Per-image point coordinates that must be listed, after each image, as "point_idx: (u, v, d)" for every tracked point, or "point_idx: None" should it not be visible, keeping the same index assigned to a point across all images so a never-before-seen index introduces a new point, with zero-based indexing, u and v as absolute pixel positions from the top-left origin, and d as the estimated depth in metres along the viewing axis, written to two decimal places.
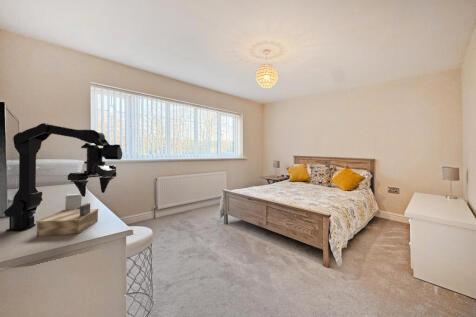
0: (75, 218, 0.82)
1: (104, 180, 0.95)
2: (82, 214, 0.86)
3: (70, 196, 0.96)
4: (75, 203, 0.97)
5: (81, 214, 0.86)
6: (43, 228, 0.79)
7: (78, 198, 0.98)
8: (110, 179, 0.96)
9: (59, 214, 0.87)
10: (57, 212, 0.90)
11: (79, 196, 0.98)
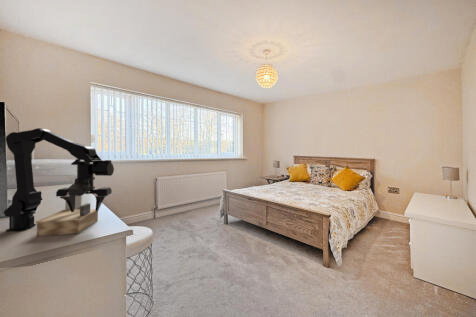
0: (75, 218, 0.82)
1: None
2: (82, 214, 0.86)
3: None
4: (75, 203, 0.97)
5: (81, 214, 0.86)
6: (43, 228, 0.79)
7: (78, 198, 0.98)
8: (98, 198, 0.87)
9: (59, 214, 0.87)
10: (57, 212, 0.90)
11: (79, 196, 0.98)
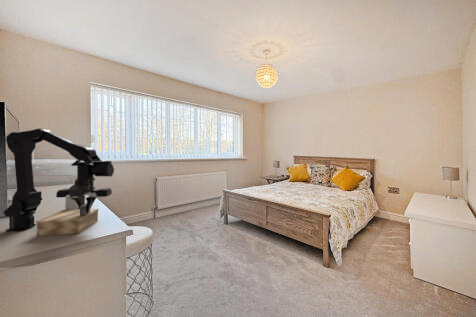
0: (75, 218, 0.82)
1: None
2: (82, 214, 0.86)
3: None
4: (75, 203, 0.97)
5: (81, 214, 0.86)
6: (43, 228, 0.79)
7: None
8: (89, 199, 0.87)
9: (59, 214, 0.87)
10: (57, 212, 0.90)
11: None
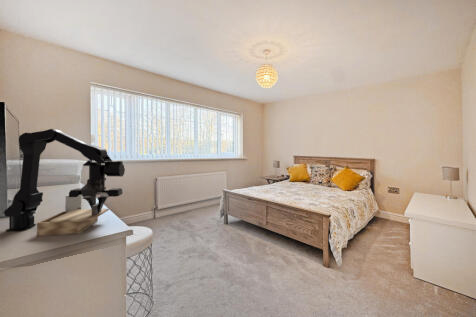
0: (87, 218, 0.83)
1: None
2: (94, 214, 0.87)
3: None
4: (75, 203, 0.97)
5: (93, 214, 0.87)
6: (43, 228, 0.79)
7: (78, 198, 0.98)
8: (100, 199, 0.88)
9: (71, 214, 0.88)
10: (69, 212, 0.91)
11: (79, 196, 0.98)
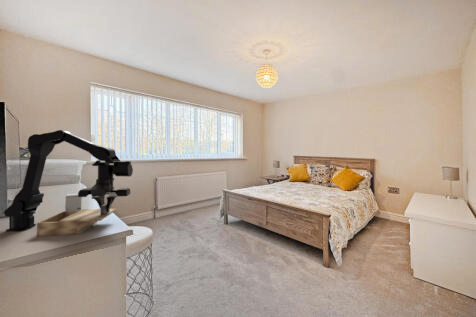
0: (97, 217, 0.84)
1: None
2: (103, 213, 0.88)
3: (70, 196, 0.96)
4: (75, 203, 0.97)
5: (102, 213, 0.88)
6: (43, 228, 0.79)
7: (78, 198, 0.98)
8: (109, 198, 0.88)
9: (80, 213, 0.89)
10: None
11: None
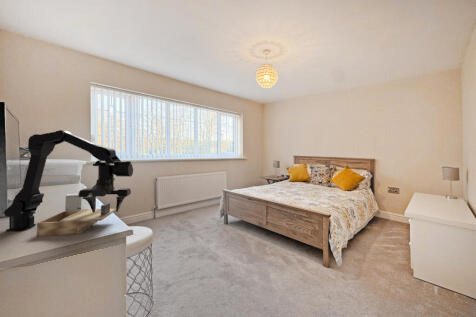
0: (97, 217, 0.84)
1: None
2: (103, 213, 0.88)
3: (70, 196, 0.96)
4: (75, 203, 0.97)
5: (102, 213, 0.88)
6: (43, 228, 0.79)
7: (78, 198, 0.98)
8: (119, 198, 0.89)
9: (80, 213, 0.89)
10: None
11: None
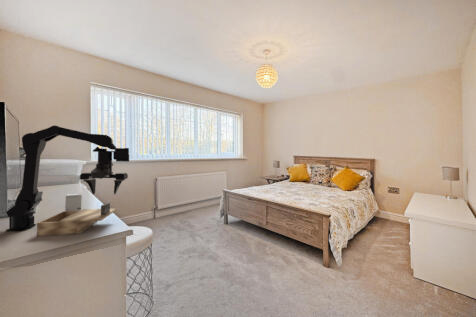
0: (97, 217, 0.84)
1: None
2: (103, 213, 0.88)
3: (70, 196, 0.96)
4: (75, 203, 0.97)
5: (102, 213, 0.88)
6: (43, 228, 0.79)
7: (78, 198, 0.98)
8: (116, 181, 0.97)
9: (80, 213, 0.89)
10: None
11: (79, 196, 0.98)
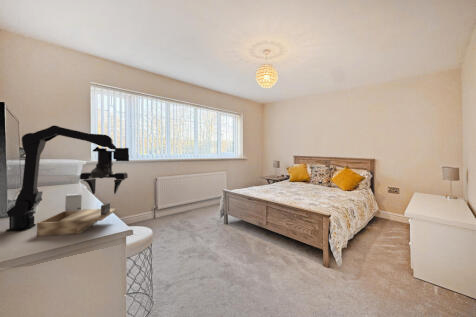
0: (97, 217, 0.84)
1: None
2: (103, 213, 0.88)
3: (70, 196, 0.96)
4: (75, 203, 0.97)
5: (102, 213, 0.88)
6: (43, 228, 0.79)
7: (78, 198, 0.98)
8: (117, 181, 0.98)
9: (80, 213, 0.89)
10: None
11: (79, 196, 0.98)
